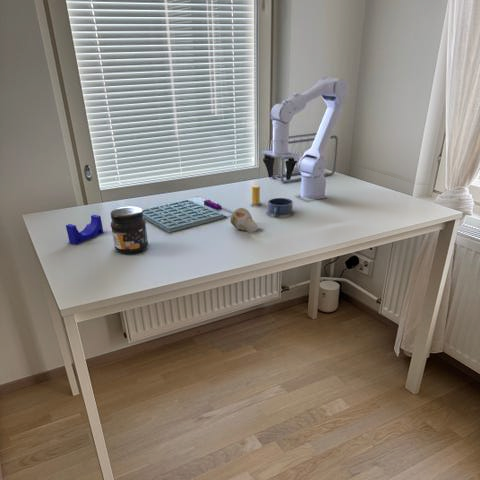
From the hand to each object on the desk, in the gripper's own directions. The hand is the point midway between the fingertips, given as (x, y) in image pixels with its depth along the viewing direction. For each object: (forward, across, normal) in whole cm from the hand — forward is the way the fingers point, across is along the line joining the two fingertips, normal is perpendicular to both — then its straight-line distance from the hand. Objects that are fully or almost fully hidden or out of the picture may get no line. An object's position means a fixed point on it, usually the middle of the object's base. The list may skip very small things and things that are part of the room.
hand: (279, 178), depth 174 cm
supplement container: (+11, -19, -62) cm, 65 cm away
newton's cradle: (+11, -10, +43) cm, 45 cm away
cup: (+10, +6, -10) cm, 16 cm away
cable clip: (+11, -40, -63) cm, 75 cm away
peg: (+10, -8, -5) cm, 14 cm away
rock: (+11, +4, -30) cm, 32 cm away
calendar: (+11, -26, -27) cm, 39 cm away
